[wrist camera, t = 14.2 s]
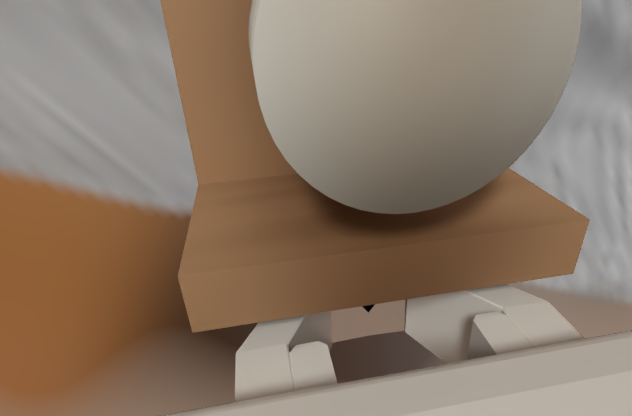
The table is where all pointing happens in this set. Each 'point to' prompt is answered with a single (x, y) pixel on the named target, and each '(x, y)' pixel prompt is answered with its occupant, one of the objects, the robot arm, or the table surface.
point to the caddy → (366, 150)
